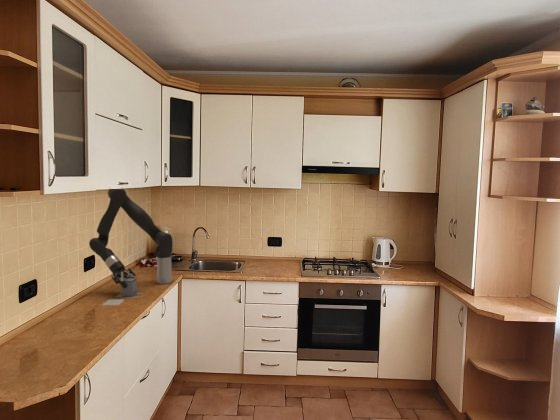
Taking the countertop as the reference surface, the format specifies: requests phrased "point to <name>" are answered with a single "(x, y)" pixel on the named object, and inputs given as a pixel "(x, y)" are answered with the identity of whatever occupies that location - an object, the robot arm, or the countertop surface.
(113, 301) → the rubber mat
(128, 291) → the grey upright block
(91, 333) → the countertop surface
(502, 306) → the countertop surface
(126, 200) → the robot arm
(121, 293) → the walnut board
